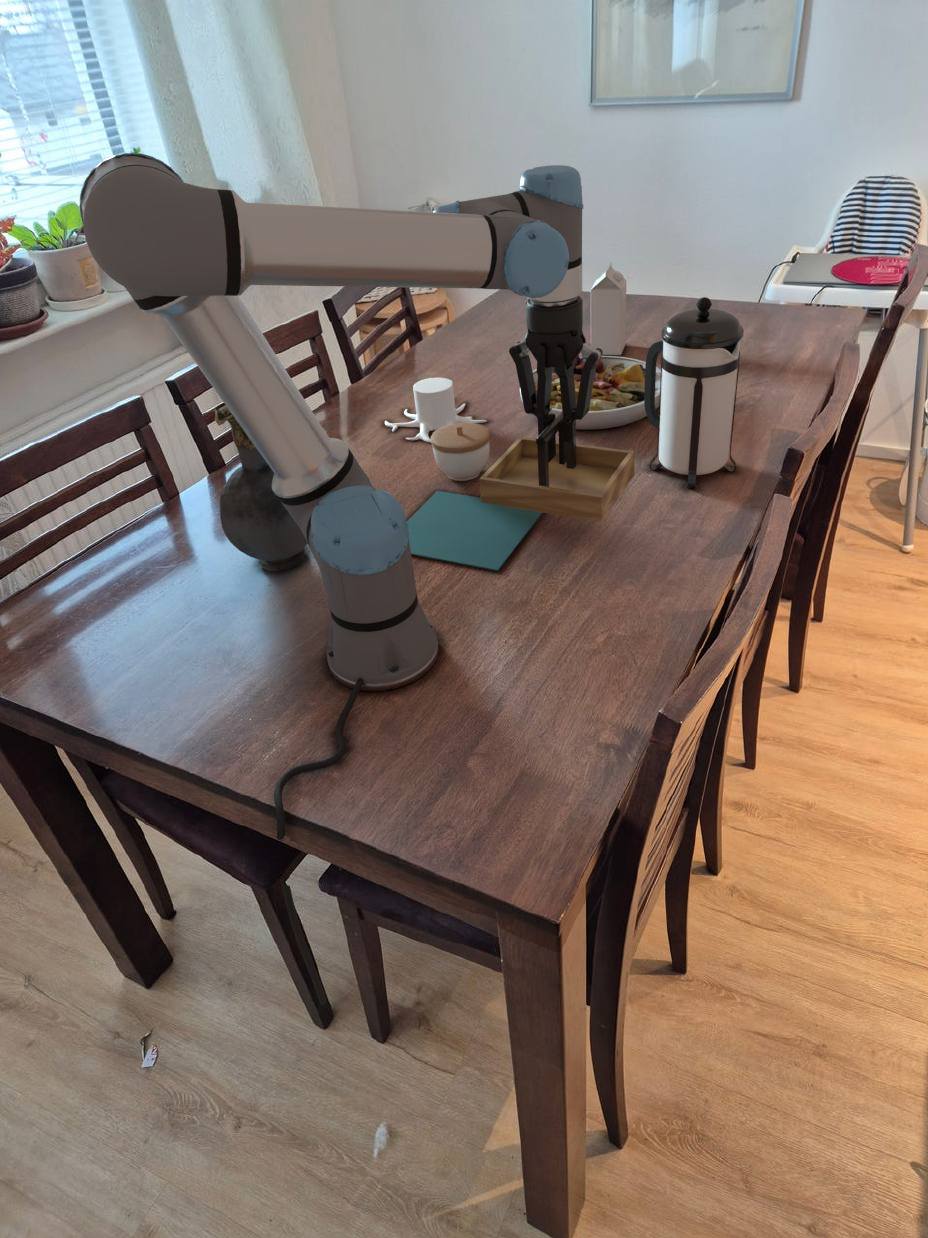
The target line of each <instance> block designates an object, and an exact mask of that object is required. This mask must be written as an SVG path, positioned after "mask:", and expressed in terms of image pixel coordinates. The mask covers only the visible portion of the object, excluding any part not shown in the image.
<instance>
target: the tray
mask: <svg viewBox="0 0 928 1238" xmlns="http://www.w3.org/2000/svg"><path fill="white" fill-rule="evenodd" d="M562 418H563V411H561V412H560V413H559V415H558V416H557V417H556V418H555V419H554V420H553V421H552V422H551V423H550V424H549V425H548V426H547V427H546V429H545V430H544V431H543V432H542V433H541V434H540V435H539V436H537V437H536V438H534V437H533V438H532V437H526V436H525V437H524V436H519V437H518V438H517V439H516V440H515V441H514V442H513V443H512V444H511V445H510V446H509V447H508V448H507V450H505V451H504V453H502V455H501V456H500V457H499V458H498V459H497V460H496V461H495V462H493V464H492V465H491V466H490V467H489V468H488V469H487V470H486V471H485V472H484V473H483V474H482V476H480V478H479V489H480V498H481V502H482V503H488V504H494V505H500V506H506V507H512V508H518V509H524V510H530V511H536V512H542V514H549V515H555V516H561V517H566V518H572V519H578V520H585V521H591V522H597V523H602V522H603V521H604V520H605V519H606V517H607V515H608V514H609V512H610V511H611V509H612V508H613V507H614V505H615V504H616V503H617V501H618V499H619V498H620V496H622V494H623V492H624V491H625V490H626V488H627V486H628V485H629V483H630V482H631V481H632V480H633V478H634V476H635V467H636V466H635V464H636V463H635V461H636V450H635V451H633V450H627V449H618V448H610V447H605V446H596V445H595V446H594V445H588V444H587V445H586V444H579V443H577V436H576V437H575V439H574V440H573V441H572V442H570V448H571V457H570V458H569V459H568V460H567V462H566V463H565V464H564V465H563V464H559V441H557V440H556V455H555V457H554V458H553V459H552V460H551V461H550V462H548V442H549V441H550V440H551V439H552V438H553V436H554V435H555V434H556V435H557V433H559V431H558V430H559V428H558V423H559V421H560V420H561V419H562Z"/></svg>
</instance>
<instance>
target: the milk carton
mask: <svg viewBox="0 0 928 1238" xmlns="http://www.w3.org/2000/svg"><path fill="white" fill-rule="evenodd" d="M612 266H613V265H612V261H611V262H609V265H608V266H607V268H606V270H605V271H604V273H603V274H602V275H601V276H599V277H598V278H597V279H596V280H595V281H594V283H593V285H592V287H591V288H590V291H589V292H590V294H589V295H590V302H589V303H590V304H589V305H590V346H591V347H592V348H594V349H596V348H600V349H602V351H603V354H602V356H622V354H623V351H624V349H625V346H626V327H627V325H626V323H627V322H626V321H627V279H626V278H624V275H623V273H621V272H620V271H618V270H615V269H614V268H613V267H612Z"/></svg>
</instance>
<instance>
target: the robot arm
mask: <svg viewBox="0 0 928 1238" xmlns="http://www.w3.org/2000/svg"><path fill="white" fill-rule="evenodd" d="M518 187H519V188H518V189H519V190H516V191H515V190H514V191H513V192H510V193H506V194H499V195H492V196H487V197H481V198H480V197H479V198H473V199H468V200H463V201H461V200H456V201H455V202H452V203H448V204H444V205H440V206H437V207H435V209H433V211H417V210H415V211H414V210H396V209H380V208H378V209H377V208H357V207H341V206H320V205H303V204H302V205H301V204H283V203H263V202H247V201H245V200H244V199H243V198H242V197H241V196H240V195H239V194H238V193H237V192H236V191H235V190H233V189H220V188H219V189H218V188H211V187H205V186H199V185H194V184H191V183H187V182H184V180H183V179H182V177H181V176H180V175H179V174H178V173H177V172H176V171H175V170H174V169H173V168H172V167H171V166H169V165H168V164H166V163H165V162H164V161H163V160H161V159H158V158H156V157H155V156H152V155H148V154H145V153H141V152H124V153H120V154H119V153H117V154H116V155H112V156H110V157H107V158H106V159H104V160H102V161H101V162H100V163H99V164H97V165H96V166H95V167H93V168H92V170H90V172H89V174H88V176H87V177H86V178H85V180H84V181H83V184H82V186H81V190H80V193H79V205H78V207H79V215H80V218H81V222H82V225H83V226H82V227H83V233H84V238H85V242H86V244H87V247H88V250H89V252H90V253H91V256H92V257H93V259H94V260H95V262H96V263H97V264H98V266H99V267H100V269H101V270H102V271H103V272H104V273H105V274H106V275H107V276H108V277H109V278H110V279H112V280H113V281H114V282H115V283H117V284H119V285H121V286H123V288H124V289H125V291H127V293H128V294H129V296H130V297H131V298H132V299H133V301H134V302H135V304H136V305H137V306H138V308H139V309H140V310H141V312H143V313H146V314H151V315H154V316H155V315H156V316H159V317H162V318H163V319H164V322H166V323H167V325H168V326H169V328H170V330H172V332H173V334H174V335H175V336H176V338H177V339H178V340H179V342H180V343H181V344H182V346H183V348H184V349H185V350H186V352H187V353H188V354H189V356H190V357H191V359H192V360H193V361H194V363H195V364H196V366H197V367H198V368H199V370H200V371H201V373H202V374H203V375H204V377H205V378H206V380H207V381H208V382H209V384H210V386H211V387H212V388H213V389H214V391H215V392H216V394H217V395H218V396H219V398H220V399H221V400H222V402H223V403H225V405H226V406H227V408H228V409H229V410H230V412H231V413H232V415H233V416H234V417H235V419H236V420H237V422H238V423H239V424H240V426H241V427H242V429H243V430H244V431H245V433H246V434H247V436H248V437H249V438H250V440H251V441H252V443H253V444H254V445H255V447H256V448H257V450H258V451H259V452H260V454H261V455H262V457H263V458H264V459H265V461H266V462H267V464H268V465H269V466H270V468H271V469H272V471H273V472H274V476H273V480H272V490H273V491H274V493H275V494H276V496H277V497H278V499H279V500H280V501H281V503H282V504H283V505H284V507H285V508H286V510H287V511H288V512H289V514H290V515H291V517H292V518H293V519H294V521H295V522H296V524H297V525H298V526H299V528H300V530H301V531H302V533H303V535H304V537H305V539H306V541H307V545H308V547H309V549H310V551H311V553H312V555H313V558H314V560H315V562H316V564H317V566H318V568H319V572H320V575H321V578H322V582H323V586H324V590H325V595H326V600H327V602H328V608H329V611H330V616H331V620H330V626H329V632H328V637H327V638H328V639H327V645H326V659H327V664H328V668H329V671H330V673H331V675H332V676H333V678H335V680H336V681H337V682H338V683H340V684H342V685H343V686H345V687H348V688H349V689H352V690H351V692H350V694H349V696H348V699H347V701H346V703H345V705H344V707H343V709H342V711H341V713H340V715H339V717H338V719H337V722H336V725H335V737H336V740H337V744H338V749H337V751H336V752H335V753H334V754H333V755H332V756H330V757H328V758H325V759H323V760H318V761H312V762H308V763H304V764H299V765H297V766H294V767H292V768H290V769H289V770H287V771H286V772H285V773H284V774H283V775H282V776H281V778H279V780H278V782H277V783H276V785H275V787H274V791H273V800H274V807H275V813H276V839H277V840H279V841H282V840H283V839H284V838H285V836H286V818H285V817H286V816H285V810H284V809H285V808H284V803H283V790H284V787H285V786H286V784H287V783H288V782H289V780H291V779H292V778H293V777H295V776H296V775H299V774H302V773H305V772H310V771H315V770H320V769H324V768H328V767H330V766H332V765H335V764H336V763H337V762H339V761H340V760H341V759H342V758H343V757H344V755H345V753H346V750H347V744H346V739H345V737H344V733H343V731H344V727H345V723H346V721H347V718H348V716H349V714H350V712H351V710H352V708H353V706H354V704H355V702H356V700H357V698H358V695H359V694H360V691H362V692H363V691H364V692H385V691H391V690H395V689H399V688H402V687H405V686H407V685H410V684H412V683H414V682H415V681H417V680H419V679H420V678H422V677H423V676H424V675H426V674H427V673H428V672H429V671H430V670H431V669H432V668H433V666H434V665H435V663H436V661H437V659H438V656H439V650H440V649H439V641H438V636H437V633H436V631H435V630H436V629H435V628H434V626H433V625H432V623H431V621H430V620H429V619H428V618H427V616H426V614H425V612H424V610H423V608H422V606H421V604H420V602H419V598H418V591H417V584H416V577H415V570H414V564H413V558H412V557H413V556H412V555H411V550H410V544H409V537H408V536H409V529H408V524H407V521H408V520H407V518H406V516H405V512H404V508H403V507H402V505H401V503H400V501H399V500H398V499H397V498H396V497H395V496H394V495H392V494H391V493H390V492H388V491H386V490H384V489H382V488H379V489H375V487H374V485H373V484H372V482H371V480H370V478H369V477H368V475H367V473H366V472H365V471H364V469H363V468H362V467H361V465H360V463H359V462H358V461H357V458H356V457H355V456H354V454H353V452H352V451H351V449H350V448H349V446H348V444H346V442H345V441H344V440H343V439H339V438H335V437H329V435H328V434H327V432H326V431H325V430H324V427H323V426H322V425H321V423H320V422H319V420H318V418H317V417H316V415H315V413H314V412H313V410H312V409H311V407H310V405H309V404H308V403H307V401H306V399H305V398H304V396H303V395H302V393H301V392H300V390H299V389H298V387H297V385H296V384H295V382H294V381H293V379H292V378H291V376H290V374H289V373H288V371H287V370H286V368H285V367H284V365H283V363H282V362H281V360H280V358H279V357H278V355H277V354H276V352H275V351H274V349H273V348H272V347H271V345H270V343H269V341H268V340H267V339H266V336H265V335H264V334H263V332H262V331H261V329H260V327H259V326H258V324H257V323H256V321H255V320H254V318H253V316H252V315H251V313H250V312H249V310H248V309H247V307H246V306H245V303H244V302H243V301H242V299H241V297H240V296H242V295H243V293H244V292H245V291H247V290H248V288H249V287H250V286H280V287H281V286H282V287H283V286H286V287H287V286H288V287H292V286H293V287H295V286H296V287H351V288H352V287H353V288H354V287H358V288H361V287H362V288H369V287H370V288H415V289H416V288H419V289H420V288H421V289H422V288H423V289H424V288H427V289H478V290H479V289H481V290H506V291H507V290H508V291H511V292H512V293H513V294H516V295H518V296H521V297H525V298H527V301H526V303H525V316H526V317H525V318H526V328H527V330H526V334H525V336H524V340H521V341H517V342H516V343H514V344H513V345H512V346H511V347H510V348H509V349H508V353H509V355H510V357H511V359H512V361H513V362H514V364H515V369H516V370H515V371H516V375H517V379H518V380H517V381H518V385H519V391H520V390H521V395H522V400H523V402H522V405H523V409H524V412H525V414H527V415H530V414H531V415H532V414H533V415H535V416H536V417H537V418H536V417H535V418H536V419H537V435H538V436H539V435H540V434H541V433H542V432H543V431H544V430H545V429H546V427H547V426H548V425H549V424H550V423H551V422H552V421H553V420H554V419H555V414H551V413H550V414H549V412H550V411H551V410H552V408H551V409H550V403H551V385H552V369H553V367H554V368H557V375H558V376H559V381H560V391H561V401H562V411H563V418H562V419H561V420H560V421H559V423H558V428H559V430H558V442H559V464H563V465H564V464H565V463H566V462H567V460H568V459H569V458H570V457H571V448H570V442H572V441H573V440H574V439H575V437H576V438H577V429H576V420H577V419H578V420H581V419H583V417H584V416H585V415H586V414H587V413H588V412H589V407H590V401H591V395H592V389H593V383H594V377H595V371H596V365H597V363H598V361H599V360H600V358H601V356H603V355H602V354H603V351H602V349H600V348H596V349H594V348H592V347H591V345H590V344H588V343H587V339H586V336H585V335H584V332H583V322H584V320H583V319H584V317H583V315H584V314H583V310H584V309H583V308H584V307H583V301H584V300H583V298H582V297H581V295H582V294H583V210H584V202H583V185H582V178H581V174H580V172H579V170H577V169H576V168H575V167H573V166H570V165H563V164H554V165H553V164H551V165H542V166H536V167H532V168H529V169H526V170H525V171H523V172H522V174H521V175H520V182H519V186H518ZM530 353H531V355H532V356H533V358H534V359H535V361H536V369H537V374H538V383H537V393H536V388H535V382H534V377H533V372H532V371H533V367H532V362H531V357H530ZM580 353H581V355H582V356H581V357H582V362H583V363H585V364H584V366H583V369H582V374H581V380H580V387H579V393H578V400H577V404H576V393H575V382H574V360H575V359H576V357H577V356H578V355H579V356H580ZM522 400H521V401H522ZM533 415H532V416H533ZM538 436H537V437H538ZM556 441H557V433H556V434H555V435H554V436H553V438H552V439H551V440H550V441H549V442H548V462H550V461H551V460H552V459H553V458H554V457H555V455H556ZM281 888H282V894H283V897H284V902H285V906H286V910H287V914H288V918H289V921H290V925H291V928H292V932H293V933H294V937H295V940H296V943H297V945H298V948H299V951H300V954H301V955H302V956H301V957H302V959H303V961H304V963H305V965H306V968H307V971H308V974H309V976H310V978H311V981H312V985H313V986H314V990H315V993H316V995H317V998H318V1002H319V1004H320V1005H321V1006H325V1005H326V1004H327V1003H328V1002H327V1001H328V999H327V998H326V994H325V992H324V989H323V985H322V982H321V979H320V976H319V974H318V971H317V969H316V966H315V963H314V961H313V959H312V956H311V953H310V951H309V947H308V945H307V942H306V940H305V937H304V935H303V932H302V928H301V924H300V921H299V918H298V915H297V911H296V906H295V903H294V898H293V893H292V889H291V885H288V884H286V883H282V882H281Z"/></svg>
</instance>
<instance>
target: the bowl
mask: <svg viewBox="0 0 928 1238" xmlns="http://www.w3.org/2000/svg"><path fill="white" fill-rule="evenodd" d="M584 364H585V363H583V362H582V356H580V354H579V355H578V356H577V357H576V359H575V360H574V382H575V393H576V404H577V400H578V393H579V387H580V380H581V374H582V369H583V366H584ZM645 365H646V361H644V360H640V359H636V358H633V357H632V358H631V357H625V356H618V355H602V356H601V358H600V360H599V361H598V363H597V365H596V371H595V377H594V383H593V389H592V395H591V401H590V407H589V412H588V413H587V414H586V415H585V416H584V417H583V419H581V420H578V419H577V420H576V430H589V431H590V430H592V431H593V430H604V429H611V428H618V427H622V426H626V425H629V424H632V423H635V422H637V421H641V420H642V419H644V418H646V417H647V414H646V411H645V404H644V389H645ZM532 372H533V377H534V382H535V388H536V393H537V383H538V374H537V368H536V369H534V370H532ZM660 377H661V368H660V367H658V366H656V382H655V409H656V410H657V409H659V399H660ZM661 385H662V378H661ZM519 395H520V400H521V402H522V403H523V400H522V395H521V390H520V389H519ZM660 405H661V400H660ZM551 408H552V410H551V411H550V412H549V414H550V413H551V414H555V418H556V417H557V416H558V415H559V413H560V412H561V411H562V401H561V391H560V381H559V376H558V375H557V368H554V367H553V369H552V385H551V403H550V409H551ZM531 415H532V416H533V417H535V418H536V419H537V417H536V416H535V415H533V414H531Z"/></svg>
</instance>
